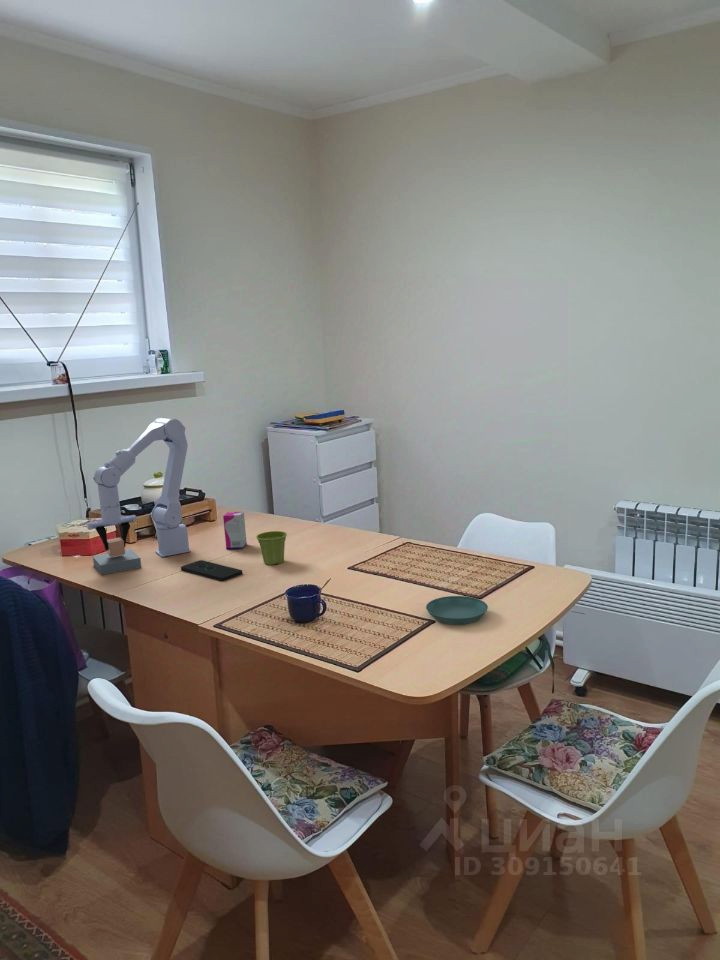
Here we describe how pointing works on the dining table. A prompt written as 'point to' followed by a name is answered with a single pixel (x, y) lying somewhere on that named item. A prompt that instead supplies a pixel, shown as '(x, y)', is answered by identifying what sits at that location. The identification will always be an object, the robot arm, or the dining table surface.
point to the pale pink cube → (115, 547)
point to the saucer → (457, 609)
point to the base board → (116, 562)
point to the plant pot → (272, 546)
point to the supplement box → (235, 530)
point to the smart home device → (211, 570)
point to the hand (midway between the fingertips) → (115, 548)
